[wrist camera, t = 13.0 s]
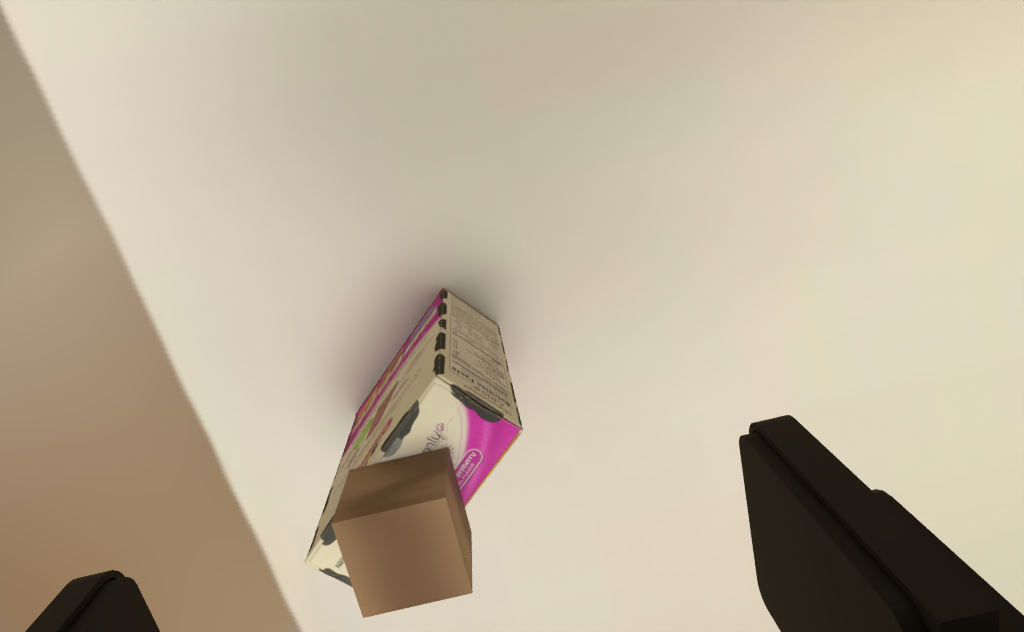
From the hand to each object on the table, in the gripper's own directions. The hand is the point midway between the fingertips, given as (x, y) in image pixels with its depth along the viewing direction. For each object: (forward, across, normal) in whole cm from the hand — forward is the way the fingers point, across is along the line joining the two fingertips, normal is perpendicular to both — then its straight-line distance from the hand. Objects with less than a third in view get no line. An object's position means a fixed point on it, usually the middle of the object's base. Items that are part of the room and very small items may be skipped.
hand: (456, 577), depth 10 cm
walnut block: (+17, +5, +9) cm, 20 cm away
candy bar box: (+34, +5, +9) cm, 35 cm away
